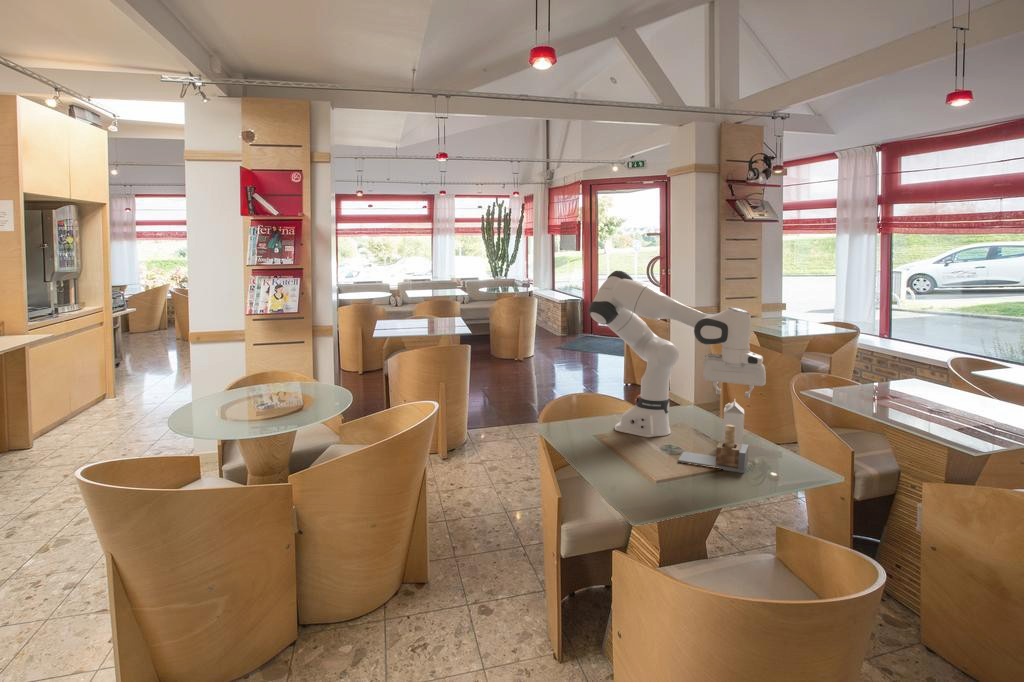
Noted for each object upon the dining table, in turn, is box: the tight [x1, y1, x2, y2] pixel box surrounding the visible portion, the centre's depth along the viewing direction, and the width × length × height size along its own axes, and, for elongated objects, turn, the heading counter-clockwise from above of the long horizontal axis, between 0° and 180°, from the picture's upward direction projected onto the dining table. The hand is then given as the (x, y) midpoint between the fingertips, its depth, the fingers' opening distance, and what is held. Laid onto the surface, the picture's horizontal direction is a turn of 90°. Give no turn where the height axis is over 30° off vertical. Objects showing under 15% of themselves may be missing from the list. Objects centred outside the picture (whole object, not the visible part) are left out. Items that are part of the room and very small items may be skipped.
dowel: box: [724, 425, 736, 448], centre depth 214 cm, size 3×3×12 cm
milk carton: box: [721, 398, 745, 444], centre depth 231 cm, size 7×7×19 cm
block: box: [715, 440, 742, 467], centre depth 215 cm, size 7×7×6 cm
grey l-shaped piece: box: [677, 443, 749, 474], centre depth 217 cm, size 22×10×7 cm, turn 63°
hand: (732, 395), depth 212 cm, fingers open, 8 cm apart
